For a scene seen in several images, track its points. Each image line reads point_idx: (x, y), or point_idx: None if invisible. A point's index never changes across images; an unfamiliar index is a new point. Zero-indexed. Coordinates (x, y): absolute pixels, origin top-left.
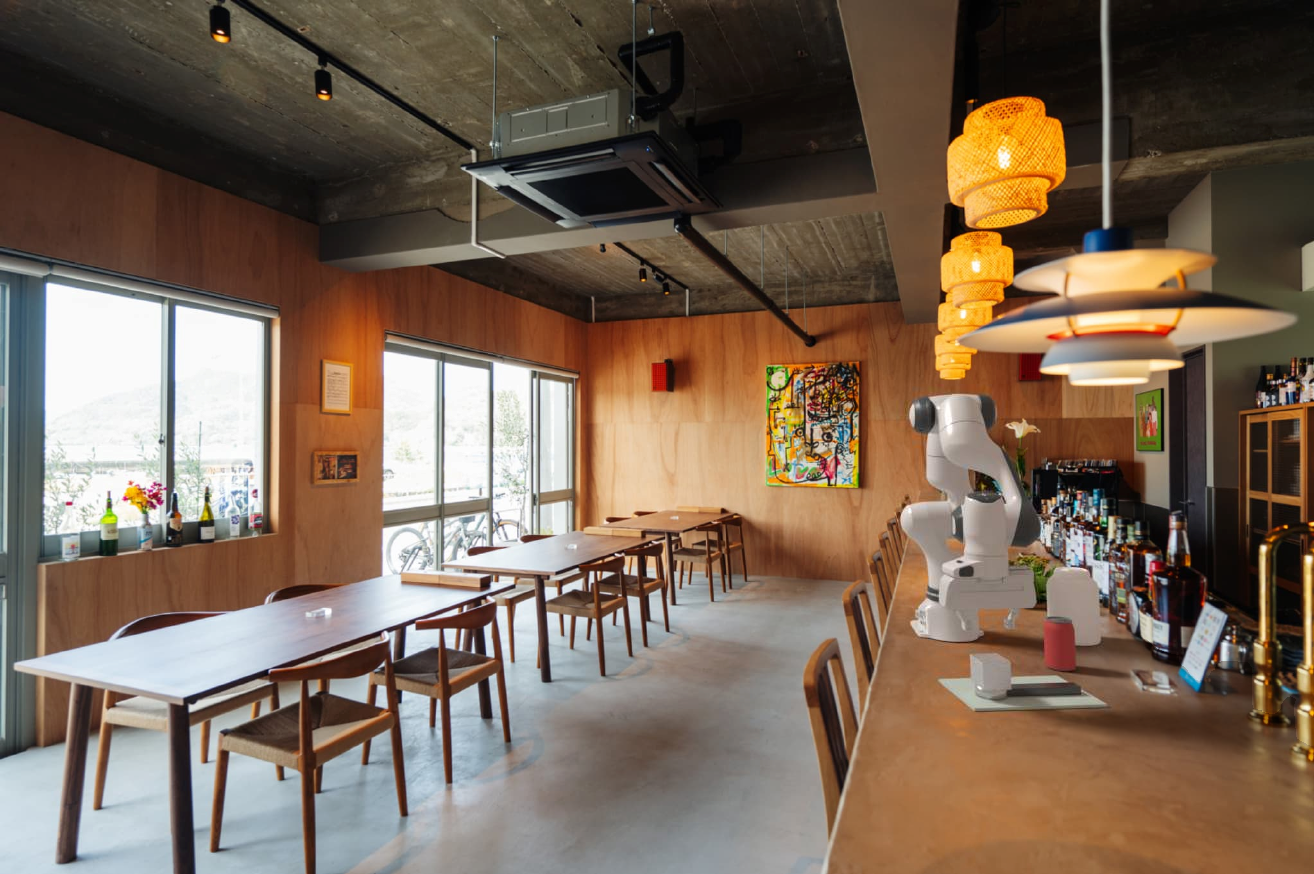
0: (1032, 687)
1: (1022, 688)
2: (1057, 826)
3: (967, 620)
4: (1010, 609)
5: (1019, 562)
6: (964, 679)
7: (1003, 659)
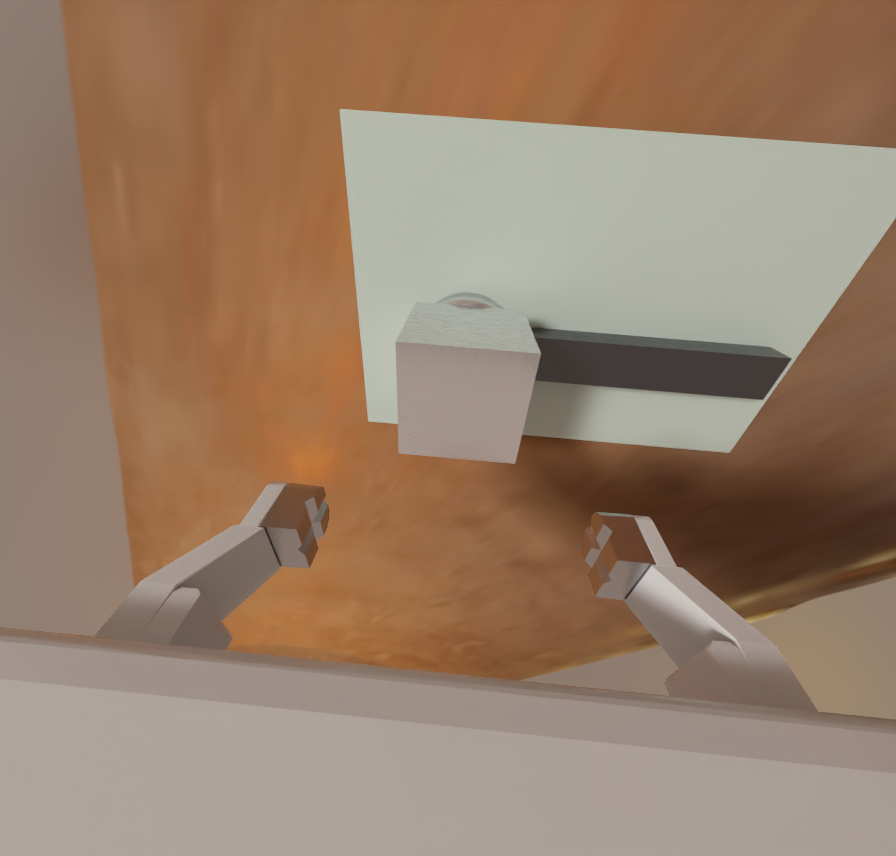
0: (599, 381)
1: (560, 382)
2: (339, 643)
3: (290, 533)
4: (699, 685)
5: None
6: (458, 140)
7: (505, 438)
